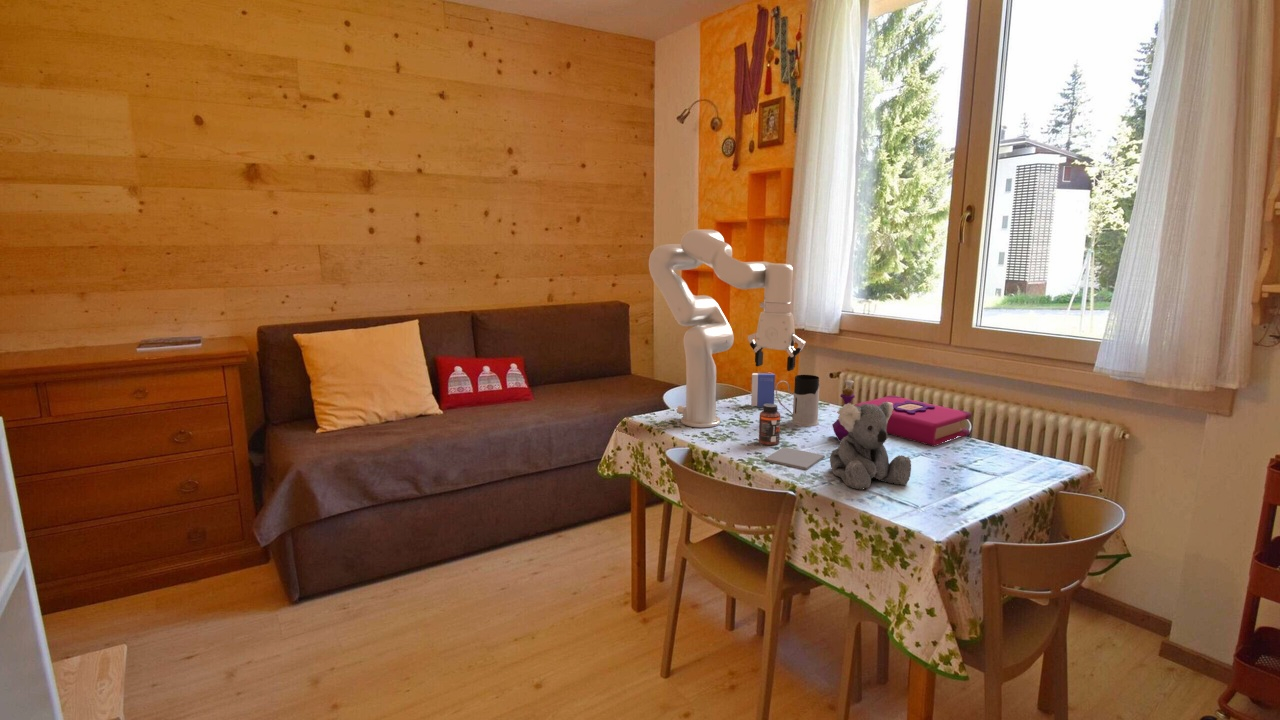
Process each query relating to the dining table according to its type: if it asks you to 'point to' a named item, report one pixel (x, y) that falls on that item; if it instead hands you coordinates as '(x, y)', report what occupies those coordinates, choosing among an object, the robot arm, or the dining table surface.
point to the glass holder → (804, 400)
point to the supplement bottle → (769, 425)
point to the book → (922, 420)
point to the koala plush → (867, 448)
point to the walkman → (762, 389)
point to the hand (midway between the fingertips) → (774, 367)
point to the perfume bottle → (847, 398)
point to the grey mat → (795, 458)
